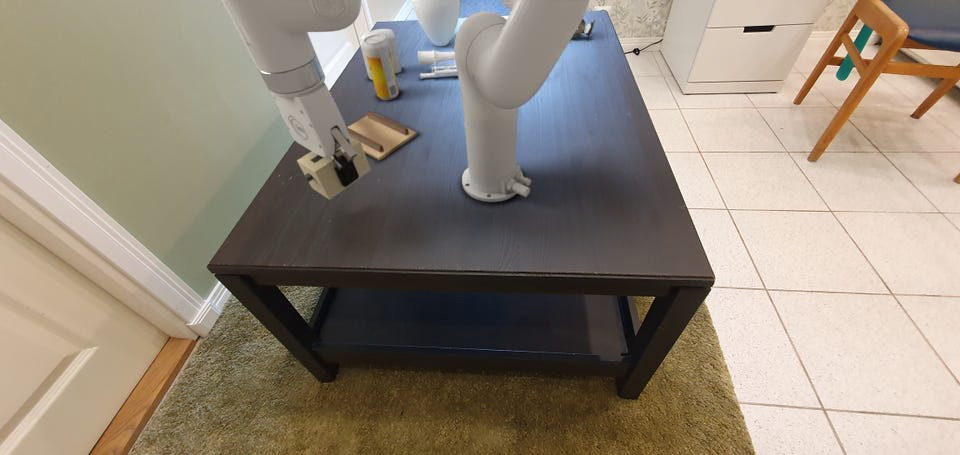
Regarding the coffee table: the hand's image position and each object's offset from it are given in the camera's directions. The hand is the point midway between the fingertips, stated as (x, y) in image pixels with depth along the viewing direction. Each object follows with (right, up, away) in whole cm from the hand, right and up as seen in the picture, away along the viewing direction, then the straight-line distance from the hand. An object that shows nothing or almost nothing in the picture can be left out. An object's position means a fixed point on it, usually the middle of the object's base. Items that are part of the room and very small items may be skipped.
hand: (340, 174), depth 64 cm
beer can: (-1, +27, +39) cm, 48 cm away
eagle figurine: (+56, +53, +59) cm, 97 cm away
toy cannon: (+14, +36, +46) cm, 60 cm away
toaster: (0, -1, +1) cm, 1 cm away
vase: (+11, +52, +60) cm, 80 cm away
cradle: (-1, +13, +27) cm, 30 cm away
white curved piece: (-4, +37, +48) cm, 60 cm away
